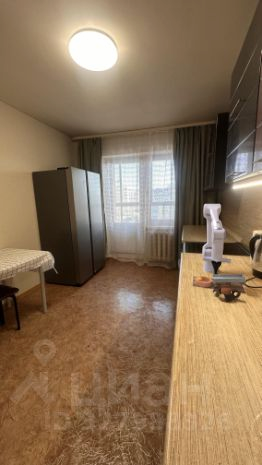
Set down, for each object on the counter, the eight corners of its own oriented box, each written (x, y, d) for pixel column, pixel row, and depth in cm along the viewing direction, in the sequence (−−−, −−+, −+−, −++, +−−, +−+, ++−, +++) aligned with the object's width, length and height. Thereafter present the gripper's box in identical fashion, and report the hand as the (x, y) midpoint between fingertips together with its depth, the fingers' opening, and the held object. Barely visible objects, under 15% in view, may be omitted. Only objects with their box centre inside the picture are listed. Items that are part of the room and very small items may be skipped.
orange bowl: (195, 279, 116) (195, 275, 116) (211, 281, 113) (211, 277, 113) (194, 285, 108) (195, 281, 108) (211, 288, 105) (212, 283, 105)
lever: (212, 276, 118) (212, 269, 117) (241, 275, 113) (240, 268, 112) (213, 285, 106) (213, 278, 105) (246, 285, 101) (245, 277, 100)
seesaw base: (193, 277, 121) (194, 270, 120) (241, 283, 112) (241, 276, 112) (192, 287, 108) (192, 280, 107) (245, 295, 100) (246, 287, 99)
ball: (199, 282, 113) (195, 278, 113) (203, 279, 112) (200, 275, 112) (199, 284, 110) (195, 280, 110) (203, 281, 109) (200, 277, 109)
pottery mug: (214, 304, 93) (211, 286, 95) (215, 304, 101) (212, 287, 104) (243, 302, 88) (239, 283, 91) (242, 302, 96) (237, 284, 99)
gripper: (203, 251, 110) (201, 274, 113) (232, 253, 106) (230, 278, 108) (203, 248, 117) (202, 270, 120) (230, 250, 112) (228, 273, 115)
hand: (215, 273), depth 114 cm, fingers closed
